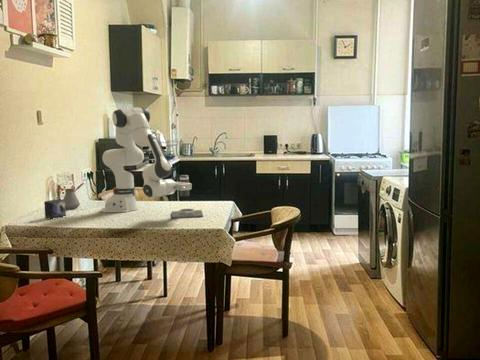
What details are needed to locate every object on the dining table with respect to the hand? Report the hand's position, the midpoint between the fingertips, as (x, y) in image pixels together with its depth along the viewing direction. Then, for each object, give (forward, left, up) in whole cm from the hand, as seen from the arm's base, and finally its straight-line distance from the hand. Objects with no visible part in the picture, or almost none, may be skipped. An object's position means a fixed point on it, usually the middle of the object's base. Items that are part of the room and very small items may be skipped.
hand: (185, 183), depth 286 cm
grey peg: (-1, -1, -7) cm, 7 cm away
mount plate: (0, 0, -19) cm, 19 cm away
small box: (-78, +12, -19) cm, 81 cm away
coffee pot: (-73, +45, -19) cm, 88 cm away
